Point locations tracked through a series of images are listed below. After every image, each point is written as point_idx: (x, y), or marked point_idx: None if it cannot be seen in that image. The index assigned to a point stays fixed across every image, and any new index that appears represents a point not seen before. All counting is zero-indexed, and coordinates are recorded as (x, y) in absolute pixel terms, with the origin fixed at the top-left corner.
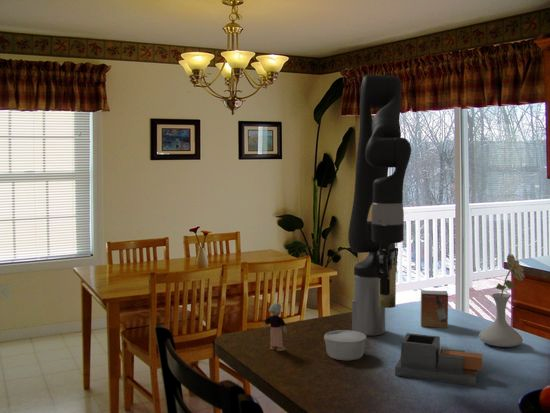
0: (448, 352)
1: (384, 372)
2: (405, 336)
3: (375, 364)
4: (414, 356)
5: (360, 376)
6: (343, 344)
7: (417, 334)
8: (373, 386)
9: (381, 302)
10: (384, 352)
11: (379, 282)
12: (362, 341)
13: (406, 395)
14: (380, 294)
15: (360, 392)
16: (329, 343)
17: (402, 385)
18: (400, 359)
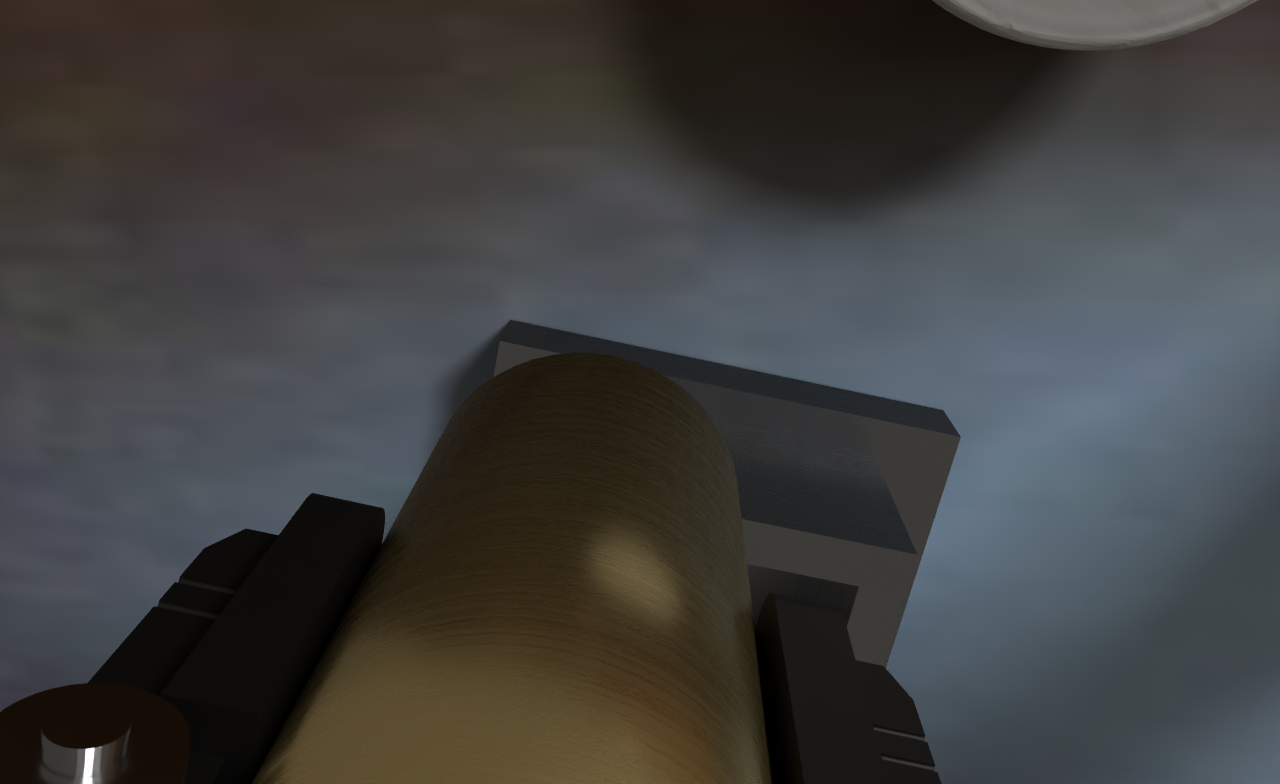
0: None
1: (566, 228)
2: (780, 533)
3: (771, 142)
4: None
5: (416, 3)
6: None
7: (872, 658)
8: (204, 132)
9: (445, 435)
10: (1146, 230)
11: (406, 598)
12: (940, 3)
13: (98, 393)
14: (436, 480)
15: (35, 20)
16: None
17: (294, 371)
18: (719, 394)
